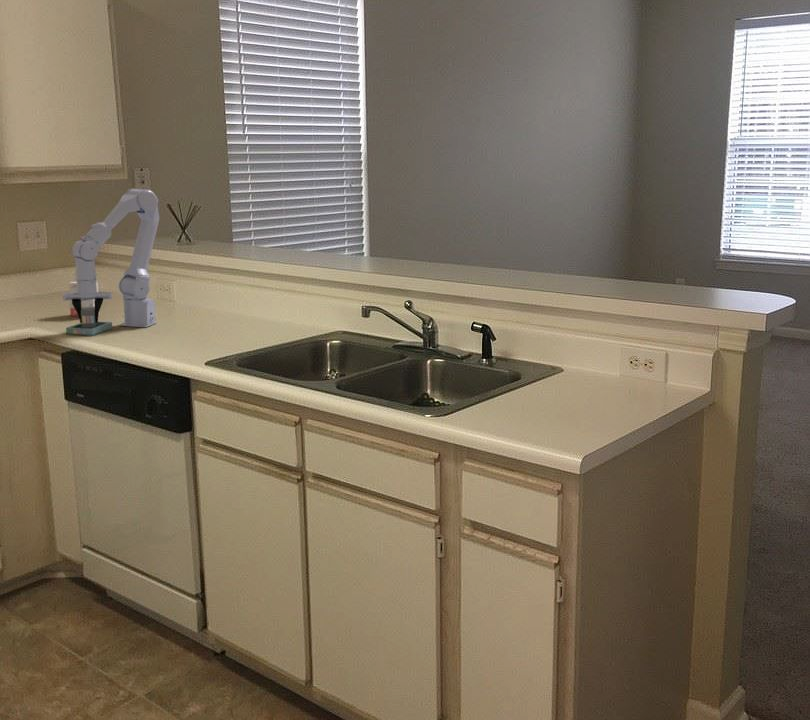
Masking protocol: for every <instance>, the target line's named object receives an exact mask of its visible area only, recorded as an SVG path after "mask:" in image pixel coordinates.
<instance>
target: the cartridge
mask: <svg viewBox="0 0 810 720" xmlns="http://www.w3.org/2000/svg"><path fill="white" fill-rule="evenodd" d="M81 322H82V328H87V329H92V328H95V327H96V326H97V323H96V321H95V307H82V309H81Z"/></svg>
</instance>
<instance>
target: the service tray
mask: <svg viewBox="0 0 810 720" xmlns="http://www.w3.org/2000/svg"><path fill="white" fill-rule="evenodd" d="M111 329H113V322H111V321H98V323H97V326H96V327H95V328H92V329H87V328H82V323H80V322H79V323H77V324H74V325H71V326H68V327H66V328H65V333H66V335H71V336H75V335H76V336H86V337H88V336H89V337H90V336H91V337H93V336H97V335H100V334H101V333H104V332H107V331H109V330H111Z"/></svg>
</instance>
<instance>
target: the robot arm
mask: <svg viewBox="0 0 810 720" xmlns="http://www.w3.org/2000/svg"><path fill="white" fill-rule="evenodd" d="M158 204H159V198H158V197H157V195H156V194H155V193H154V191H152V190H150V189H139V188H129V189H128V190H127V191H126V192H125V193H124V194H123V195H122V196H121V198H120V200H119V202H118V203H117V204H115V206H114V207H113V209H112V210H111V211H110V212H109V214H108V215H107V216H106V217H105V219H104V220H103V221H102V222H96V223H92V225H90V228H91V229H90V230H88V232H87V233H86V234H85V235H83V236H81V237H80V238H81V240H78V241H75V243H74V244H73V245H72V248H71V250H70V253H71V255H72V257H73V258H74V261H75V272H76V277H77V291H78V293H62V301H64V302H66V301H70V300H72V304H73V306H74V308H75V309H76V311H77V314H78V316H77V317H78V318H79V319H78V320H79V323H82V322H81V309H82V307H81V300H92V299H95V301H94V304H95V321H96V323H98V322H99V315H100V314H99V313H100V310H101V308H102V305H103V301H104V300H113V293H112V292H111V291H110V292H108V291H107V292H104V291H102V292H101V291H98V292H97V287H96V274H97V273H96V258H97V257H98V255H99V250H100V248H101V247H102V246H103V245H104V244H105V243H106V241H108V240H109V239H110V237H111V236H112V229H113V228H114V227H116V226H117V224H119V223H120V222H121V220H123V219H124V218H125V217H126V216H127V215H128V213H134V212H135V213H136V214H137V216H138V217H139V219H140V224H139V228H138V232H137V235H136V240H135V245H134V249H133V251H132V256H131V261H130V265H129V267H127V269H126V270H125V271H124V272H123V276H122V277H121V278H120V280H119V283H118V289H119V291H120V293H122V298H123V314H124V315H123V317H124V322H122V323H120V324H119V326H120V327H131V328H132V327H134V328H147V327H150V326H152V325H155V324H157V323H158V321H156V303H155V301H154V300H153V299H152V298H147V297H148V295H149V292H150V289H151V287H150V274H149V273H148V268H149V267H148V266H149V264H150V259H151V256H152V252H153V248H154V244H155V239H156V234H157V232H158V231H157V230H158V226H159V222H160V213H159V208H158ZM89 297H94V298H89Z"/></svg>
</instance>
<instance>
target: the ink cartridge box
mask: <svg viewBox="0 0 810 720" xmlns="http://www.w3.org/2000/svg"><path fill="white" fill-rule="evenodd" d="M73 275H74V280H73V281H70V282H69V283H68V290H69V291H68V292H69V293H78V291H77V277H76V271H74V274H73ZM97 275H98V274H97V273H96V287H97V292H99V284H98V283H99V282H98V277H97ZM89 298H94V297H89ZM94 301H95V299H92V300H81V307H95V304H94ZM69 308H70V317H79V316H78V314H77V311H76V309H75V308H74V306H73V304H72V300H69ZM99 315H100V312H99Z"/></svg>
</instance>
